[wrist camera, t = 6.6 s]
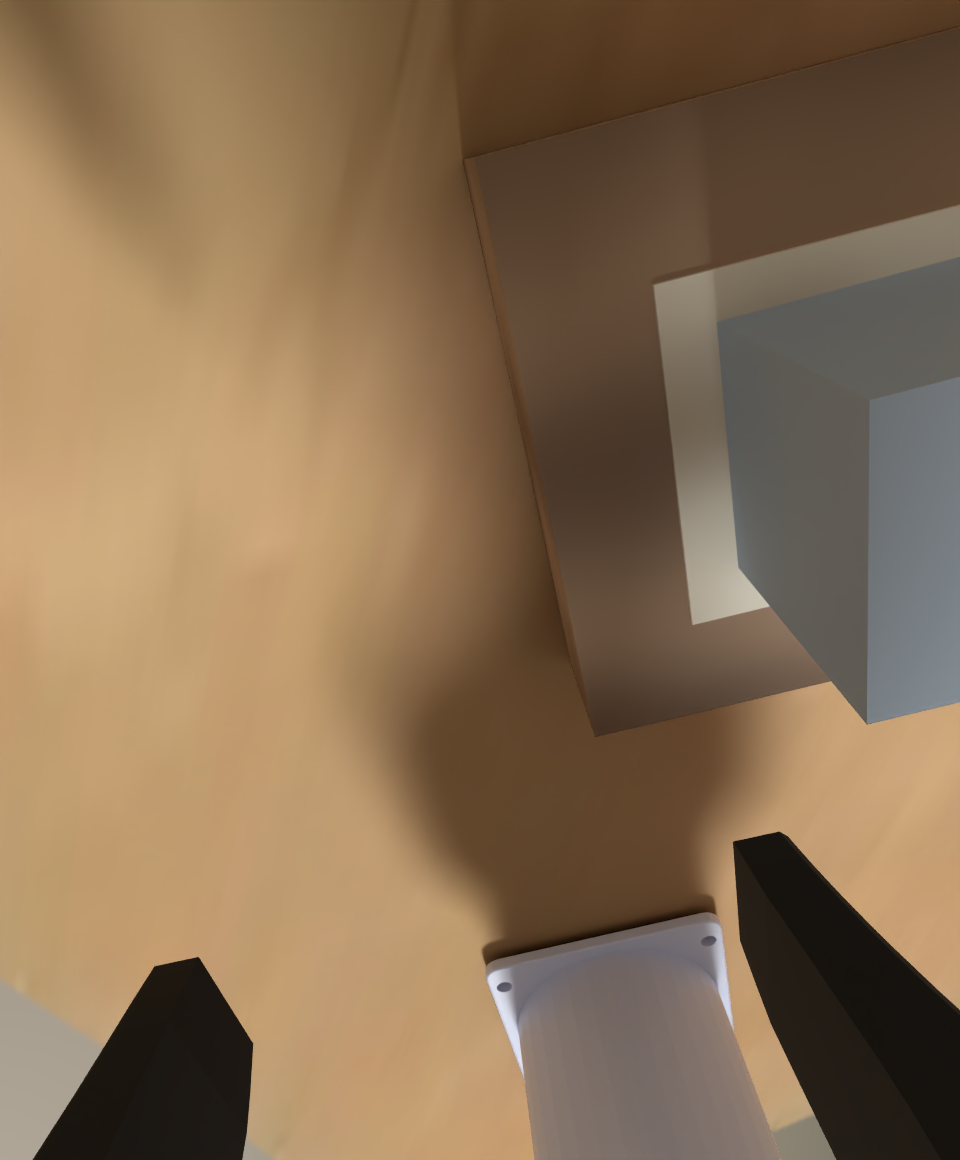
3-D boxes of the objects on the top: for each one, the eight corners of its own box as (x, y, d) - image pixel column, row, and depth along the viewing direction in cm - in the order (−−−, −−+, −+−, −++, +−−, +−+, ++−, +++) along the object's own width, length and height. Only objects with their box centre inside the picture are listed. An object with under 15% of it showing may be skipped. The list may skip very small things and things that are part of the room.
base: (1022, 553, 20) (1120, 615, 17) (570, 662, 20) (595, 739, 18) (1097, -12, 14) (1263, -54, 11) (462, 159, 14) (475, 158, 12)
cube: (981, 505, 15) (1208, 641, 11) (738, 567, 16) (867, 724, 11) (1004, 244, 13) (1307, 286, 9) (716, 321, 13) (870, 400, 9)
